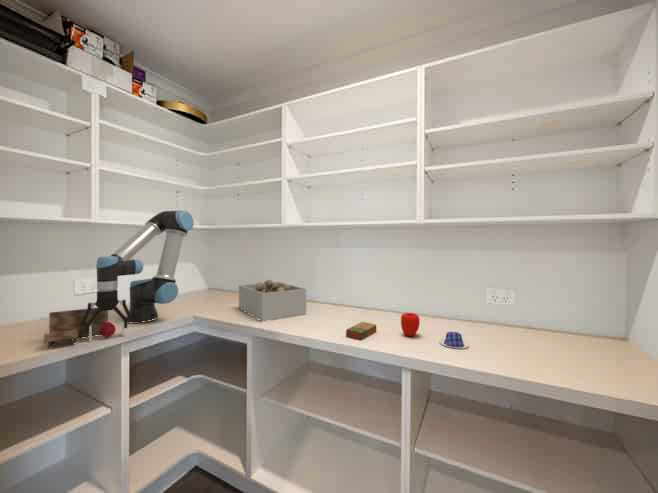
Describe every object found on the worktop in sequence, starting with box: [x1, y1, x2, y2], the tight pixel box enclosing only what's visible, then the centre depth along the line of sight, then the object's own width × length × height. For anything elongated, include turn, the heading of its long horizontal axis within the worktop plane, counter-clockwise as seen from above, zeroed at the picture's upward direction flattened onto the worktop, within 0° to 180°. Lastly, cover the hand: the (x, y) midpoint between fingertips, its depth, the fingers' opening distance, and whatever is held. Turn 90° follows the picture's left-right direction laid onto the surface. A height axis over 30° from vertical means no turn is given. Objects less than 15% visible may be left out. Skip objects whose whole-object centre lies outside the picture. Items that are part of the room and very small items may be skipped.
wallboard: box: [48, 307, 109, 343], centre depth 129 cm, size 20×2×13 cm, turn 127°
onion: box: [99, 320, 116, 339], centre depth 130 cm, size 6×6×8 cm
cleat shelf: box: [43, 329, 80, 349], centre depth 121 cm, size 10×11×7 cm
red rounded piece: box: [400, 312, 420, 337], centre depth 136 cm, size 9×9×11 cm
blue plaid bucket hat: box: [439, 331, 470, 349], centre depth 125 cm, size 12×12×5 cm
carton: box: [345, 321, 377, 341], centre depth 138 cm, size 8×16×4 cm, turn 145°
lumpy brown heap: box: [255, 279, 291, 293], centre depth 183 cm, size 38×26×20 cm
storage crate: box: [238, 281, 307, 322], centre depth 182 cm, size 29×38×16 cm
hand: (107, 337), depth 130 cm, fingers open, 11 cm apart
